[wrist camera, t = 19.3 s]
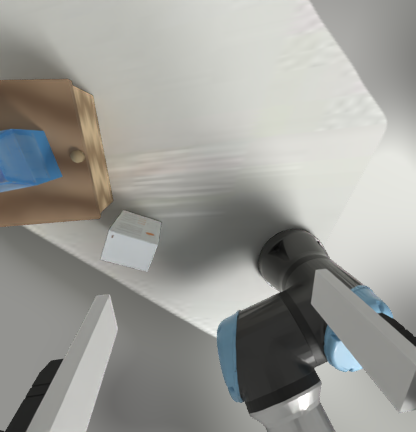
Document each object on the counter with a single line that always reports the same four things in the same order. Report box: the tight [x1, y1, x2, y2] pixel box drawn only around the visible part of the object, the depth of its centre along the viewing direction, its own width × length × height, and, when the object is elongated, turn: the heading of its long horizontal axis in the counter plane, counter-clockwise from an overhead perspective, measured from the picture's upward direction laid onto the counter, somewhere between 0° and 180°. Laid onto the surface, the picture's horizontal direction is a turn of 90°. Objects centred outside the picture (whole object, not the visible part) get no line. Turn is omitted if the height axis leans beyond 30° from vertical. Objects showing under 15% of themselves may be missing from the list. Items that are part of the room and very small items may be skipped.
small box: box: [100, 210, 162, 272], centre depth 40 cm, size 8×6×10 cm
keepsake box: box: [73, 86, 113, 213], centre depth 35 cm, size 18×14×8 cm
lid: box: [0, 79, 101, 227], centre depth 30 cm, size 19×14×2 cm
